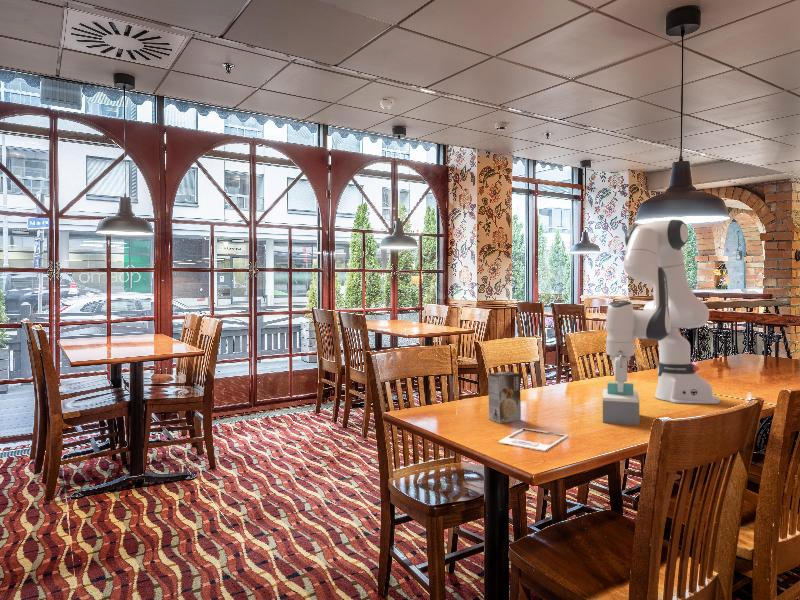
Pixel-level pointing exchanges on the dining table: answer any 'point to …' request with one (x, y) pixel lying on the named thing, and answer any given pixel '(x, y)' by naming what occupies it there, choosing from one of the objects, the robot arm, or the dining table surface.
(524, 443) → the photo frame
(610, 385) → the lid
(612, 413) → the tub
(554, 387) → the dining table surface
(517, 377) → the coffee box
